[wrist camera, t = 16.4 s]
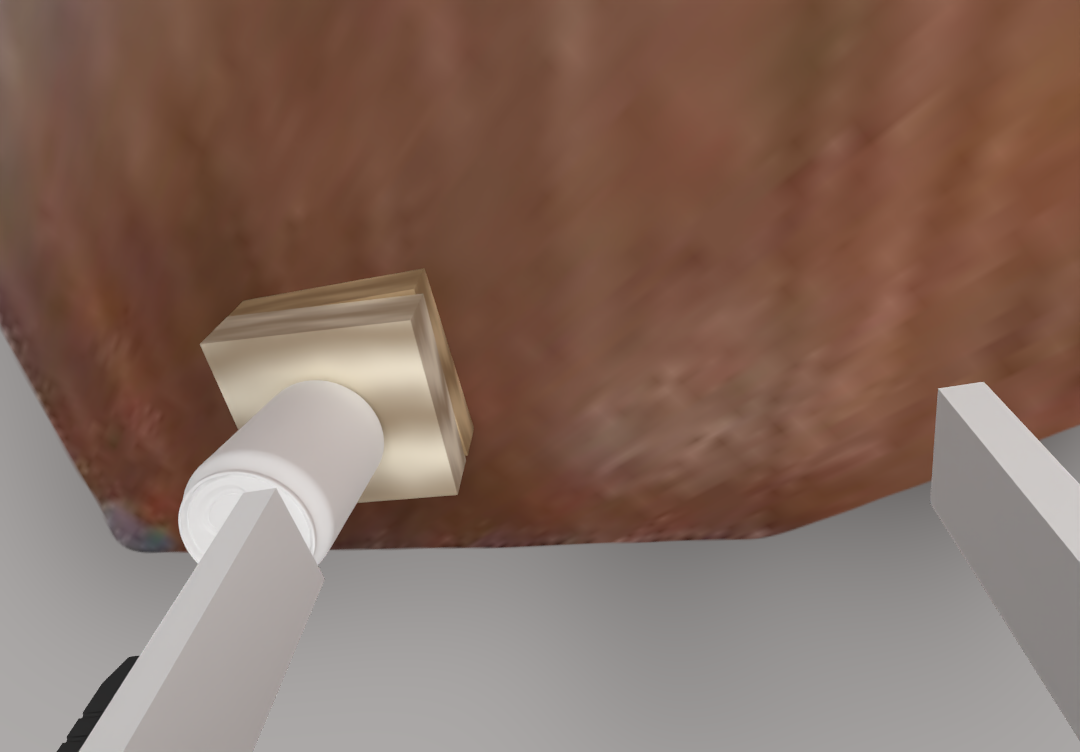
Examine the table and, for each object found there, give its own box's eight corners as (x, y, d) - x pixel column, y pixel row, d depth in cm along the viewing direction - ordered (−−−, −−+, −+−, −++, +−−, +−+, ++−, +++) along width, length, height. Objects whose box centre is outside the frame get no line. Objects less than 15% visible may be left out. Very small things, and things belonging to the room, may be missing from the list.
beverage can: (319, 351, 45) (230, 432, 34) (411, 436, 47) (356, 539, 35) (244, 428, 47) (138, 528, 36) (334, 506, 49) (260, 623, 38)
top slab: (227, 316, 48) (199, 344, 45) (423, 293, 46) (410, 320, 43) (293, 475, 55) (274, 509, 52) (465, 460, 53) (457, 494, 50)
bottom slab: (246, 298, 52) (222, 322, 48) (425, 266, 50) (413, 288, 46) (314, 447, 59) (297, 478, 55) (474, 425, 57) (467, 455, 53)
